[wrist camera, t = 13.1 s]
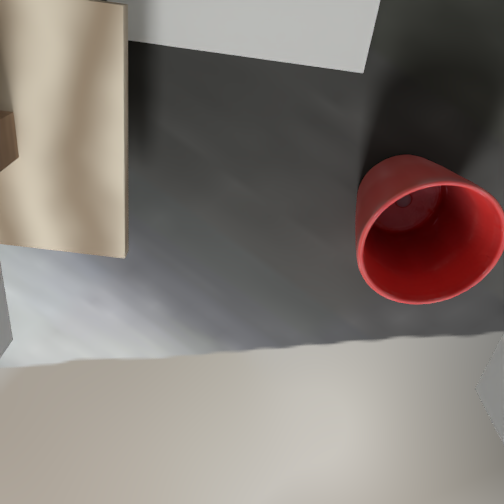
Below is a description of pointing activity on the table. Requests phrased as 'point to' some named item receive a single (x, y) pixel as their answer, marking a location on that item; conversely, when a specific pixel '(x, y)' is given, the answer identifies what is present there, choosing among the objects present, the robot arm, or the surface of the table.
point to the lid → (64, 125)
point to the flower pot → (424, 231)
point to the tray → (261, 28)
